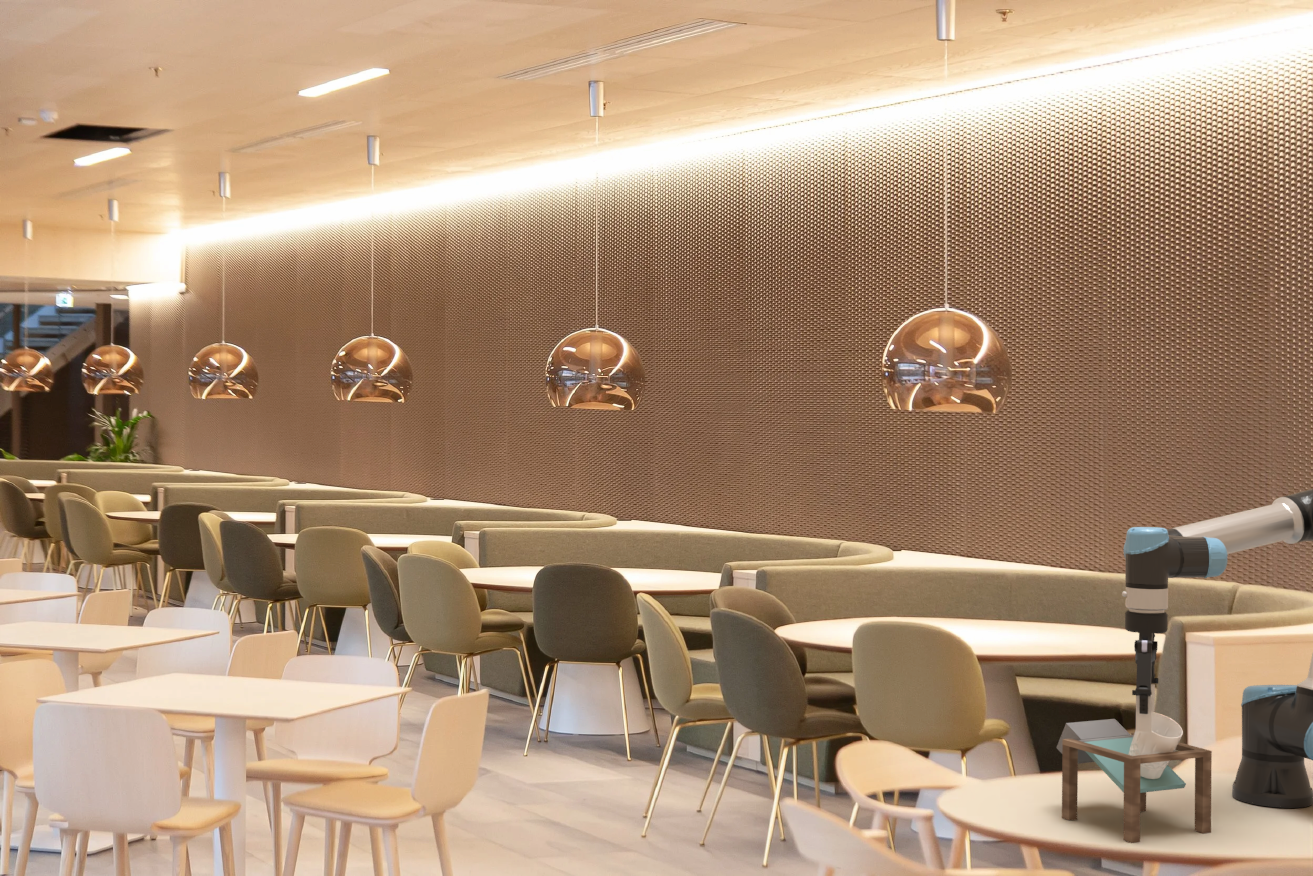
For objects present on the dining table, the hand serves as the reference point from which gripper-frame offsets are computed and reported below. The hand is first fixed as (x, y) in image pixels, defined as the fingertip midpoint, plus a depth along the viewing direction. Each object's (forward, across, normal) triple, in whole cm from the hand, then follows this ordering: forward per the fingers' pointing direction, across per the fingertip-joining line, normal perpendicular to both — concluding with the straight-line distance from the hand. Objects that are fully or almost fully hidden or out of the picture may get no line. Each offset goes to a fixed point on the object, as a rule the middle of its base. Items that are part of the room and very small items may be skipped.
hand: (1145, 725), depth 273 cm
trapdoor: (+12, -6, -6) cm, 15 cm away
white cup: (+9, -2, 0) cm, 9 cm away
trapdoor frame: (+19, -2, -2) cm, 19 cm away
